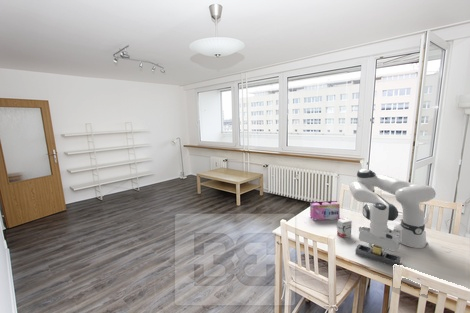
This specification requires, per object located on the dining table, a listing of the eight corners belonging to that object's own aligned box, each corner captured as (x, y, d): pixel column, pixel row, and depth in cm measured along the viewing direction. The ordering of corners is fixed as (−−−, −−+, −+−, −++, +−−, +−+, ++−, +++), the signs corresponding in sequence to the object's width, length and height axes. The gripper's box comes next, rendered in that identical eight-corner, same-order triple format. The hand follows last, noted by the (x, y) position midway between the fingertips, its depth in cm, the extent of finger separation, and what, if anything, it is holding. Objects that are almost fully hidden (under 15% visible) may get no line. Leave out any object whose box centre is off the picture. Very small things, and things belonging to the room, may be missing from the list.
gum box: (337, 215, 195) (337, 200, 193) (341, 219, 188) (341, 203, 186) (310, 216, 196) (309, 201, 194) (313, 220, 188) (313, 205, 186)
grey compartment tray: (355, 254, 139) (355, 248, 139) (358, 249, 144) (358, 244, 144) (398, 268, 124) (398, 262, 123) (400, 262, 129) (400, 257, 128)
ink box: (341, 238, 158) (342, 222, 157) (336, 234, 163) (337, 219, 161) (351, 235, 161) (352, 220, 159) (346, 232, 165) (346, 217, 164)
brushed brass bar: (372, 255, 134) (372, 246, 133) (374, 252, 137) (374, 243, 136) (380, 257, 131) (380, 248, 130) (381, 254, 134) (382, 245, 133)
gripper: (357, 227, 136) (356, 248, 138) (398, 238, 122) (396, 260, 124) (360, 223, 141) (359, 243, 143) (400, 233, 127) (398, 255, 129)
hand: (377, 251), depth 133 cm, fingers closed on brushed brass bar, 4 cm apart
